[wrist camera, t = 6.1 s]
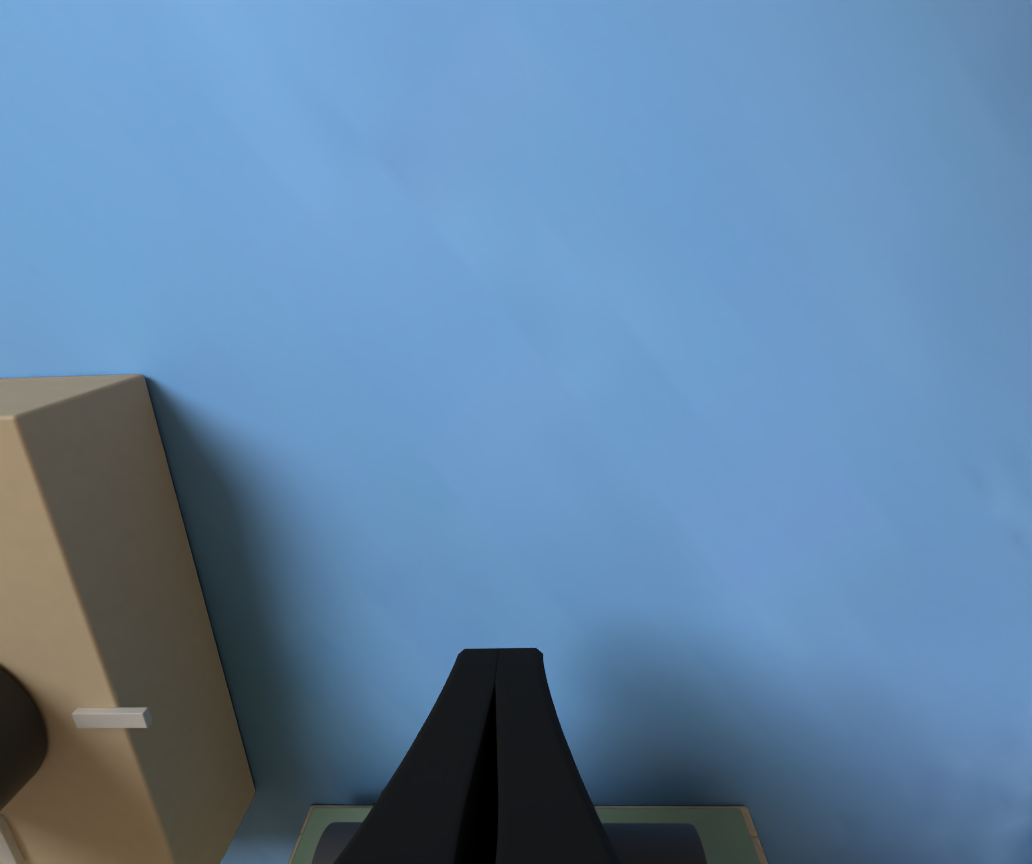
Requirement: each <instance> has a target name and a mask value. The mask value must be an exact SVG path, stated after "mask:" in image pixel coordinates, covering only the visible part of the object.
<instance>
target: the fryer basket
mask: <svg viewBox="0 0 1032 864" xmlns="http://www.w3.org/2000/svg"><path fill="white" fill-rule="evenodd" d="M594 808H595V810H596V812H597V814H598V816H599V819H600V821H601V823H602V825H603V827H604V829H605V831H606V833H607V835H608V837H609V839H610V841H611V844H612V846H613V848H614V849H615V851H616V853H617V855H618V857H619V859H620V861H621V863H622V864H761V863H760V860H759V858H758V855H757V852H756V850H755V847H754V844H753V841H752V839H751V836H750V833H749V831H748V828H747V825H746V822H745V820H744V817H743V814H742V812H741V810H740V809H739V808H602V807H594ZM371 809H372V807H313V809H312V811H311V813H310V816H309V818H308V821H307V823H306V826H305V828H304V831H303V833H302V836H301V839H300V841H299V844H298V846H297V849H296V851H295V854H294V856H293V859H292V861H291V864H333V863H334V862H335V860H336V859H337V858H338V856H339V855H340V853H341V852H342V851H343V849H344V848H345V847H346V845H347V844H348V842H349V841H350V840H351V838H352V837H353V835H354V834H355V832H356V831H357V830H358V828H359V827H360V825H361V824H362V822H363V821H364V819H365V818H366V817H367V815H368V813H369V812H370V810H371Z"/></svg>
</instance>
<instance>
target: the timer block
mask: <svg viewBox="0 0 1032 864" xmlns="http://www.w3.org/2000/svg"><path fill="white" fill-rule="evenodd" d="M0 668H1V669H2V670H4V671H5V672H6V673H7V674H9V675H10V676H11V677H12V678H13V679H14V680H15V681H16V682H17V683H18V684H19V685H20V686H21V687H22V688H23V689H24V690H25V692H26V693H27V694H28V695H29V696H30V698H31V699H32V701H33V702H34V704H35V705H36V707H37V709H38V711H39V713H40V715H41V717H42V720H43V723H44V726H45V729H46V735H47V749H46V754H45V758H44V760H43V762H42V765H41V767H40V768H39V770H38V771H37V773H36V774H35V775H34V776H33V777H32V778H31V779H30V780H29V781H28V782H27V783H26V785H25V786H24V787H23V788H22V789H21V790H20V791H19V792H18V793H17V794H16V795H15V796H14V797H13V798H12V799H11V800H10V801H9V803H8V804H7V805H6V806H5V807H4V808H3V809H2V810H1V811H0V864H220V862H221V860H222V858H223V856H224V854H225V852H226V851H227V849H228V847H229V845H230V843H231V841H232V839H233V837H234V835H235V833H236V831H237V829H238V827H239V825H240V823H241V821H242V819H243V817H244V815H245V813H246V811H247V809H248V807H249V805H250V803H251V801H252V799H253V798H254V796H255V788H254V784H253V780H252V777H251V773H250V769H249V765H248V762H247V758H246V754H245V751H244V747H243V743H242V739H241V736H240V732H239V728H238V724H237V721H236V717H235V713H234V710H233V706H232V702H231V698H230V695H229V691H228V687H227V683H226V680H225V676H224V672H223V668H222V665H221V661H220V657H219V654H218V650H217V646H216V642H215V639H214V635H213V631H212V627H211V624H210V620H209V616H208V613H207V609H206V605H205V601H204V598H203V594H202V590H201V586H200V583H199V579H198V575H197V571H196V568H195V564H194V560H193V557H192V553H191V549H190V545H189V542H188V538H187V534H186V530H185V527H184V523H183V519H182V516H181V512H180V508H179V504H178V501H177V497H176V493H175V489H174V486H173V482H172V478H171V474H170V471H169V467H168V463H167V460H166V456H165V452H164V448H163V445H162V441H161V437H160V433H159V430H158V426H157V422H156V419H155V415H154V411H153V407H152V404H151V400H150V396H149V392H148V389H147V385H146V381H145V377H144V376H143V375H141V374H125V375H94V376H63V377H33V378H2V379H0Z"/></svg>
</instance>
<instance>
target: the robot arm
mask: <svg viewBox="0 0 1032 864" xmlns="http://www.w3.org/2000/svg"><path fill="white" fill-rule="evenodd" d="M333 864H622V863H621V861H620V859H619V857H618V855H617V853H616V851H615V849H614V848H613V846H612V844H611V841H610V839H609V837H608V835H607V833H606V831H605V829H604V827H603V825H602V823H601V821H600V819H599V816H598V814H597V812H596V810H595V808H594V806H593V803H592V801H591V799H590V797H589V795H588V793H587V790H586V788H585V786H584V783H583V781H582V779H581V776H580V774H579V772H578V769H577V767H576V764H575V762H574V759H573V757H572V754H571V751H570V749H569V746H568V744H567V741H566V739H565V736H564V734H563V731H562V728H561V725H560V722H559V720H558V717H557V714H556V710H555V707H554V704H553V701H552V698H551V694H550V690H549V687H548V683H547V679H546V674H545V669H544V663H543V653H541V652H540V651H539V650H538V649H537V648H496V649H464V650H463V651H462V652H461V653H459V654H458V656H457V659H456V661H455V664H454V666H453V668H452V670H451V673H450V675H449V677H448V679H447V681H446V683H445V685H444V687H443V689H442V691H441V693H440V695H439V697H438V699H437V701H436V703H435V705H434V707H433V708H432V710H431V712H430V714H429V716H428V718H427V720H426V721H425V723H424V725H423V726H422V728H421V730H420V732H419V733H418V735H417V737H416V739H415V740H414V742H413V744H412V745H411V747H410V749H409V751H408V752H407V754H406V756H405V757H404V759H403V761H402V762H401V764H400V766H399V767H398V769H397V770H396V772H395V774H394V775H393V777H392V778H391V780H390V781H389V783H388V784H387V786H386V787H385V789H384V790H383V792H382V793H381V795H380V797H379V798H378V800H377V801H376V803H375V804H374V806H373V807H372V809H371V810H370V812H369V813H368V815H367V817H366V818H365V819H364V821H363V822H362V824H361V825H360V827H359V828H358V830H357V831H356V832H355V834H354V835H353V837H352V838H351V840H350V841H349V842H348V844H347V845H346V847H345V848H344V849H343V851H342V852H341V853H340V855H339V856H338V858H337V859H336V860H335V862H334V863H333Z"/></svg>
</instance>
